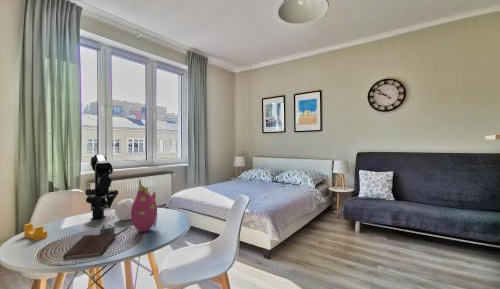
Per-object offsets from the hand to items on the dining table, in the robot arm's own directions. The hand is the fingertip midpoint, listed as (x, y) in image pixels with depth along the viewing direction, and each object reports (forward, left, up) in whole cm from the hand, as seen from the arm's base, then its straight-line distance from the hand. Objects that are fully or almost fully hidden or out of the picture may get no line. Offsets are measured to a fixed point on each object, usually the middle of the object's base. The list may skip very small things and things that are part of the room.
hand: (103, 210), depth 134 cm
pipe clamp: (+13, -29, -12) cm, 34 cm away
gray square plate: (+4, +5, -11) cm, 13 cm away
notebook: (+21, +10, -11) cm, 26 cm away
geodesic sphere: (-18, +2, -12) cm, 22 cm away
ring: (+4, +5, -11) cm, 12 cm away
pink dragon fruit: (-1, +24, -12) cm, 27 cm away
